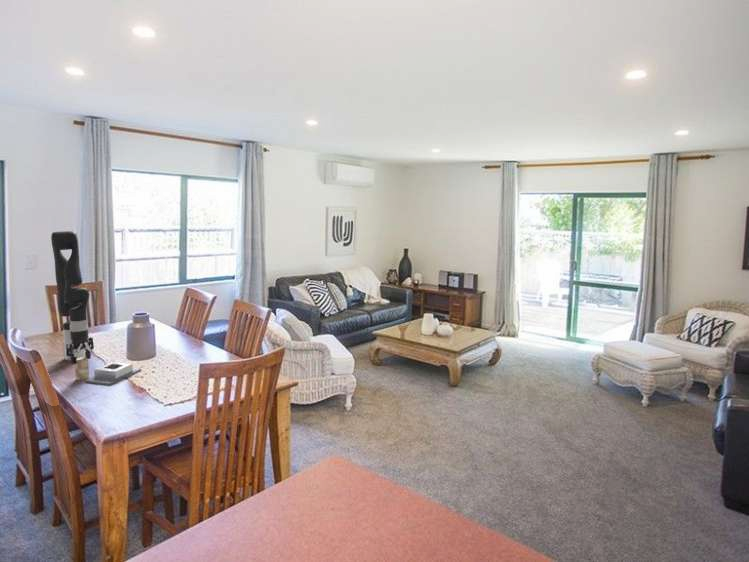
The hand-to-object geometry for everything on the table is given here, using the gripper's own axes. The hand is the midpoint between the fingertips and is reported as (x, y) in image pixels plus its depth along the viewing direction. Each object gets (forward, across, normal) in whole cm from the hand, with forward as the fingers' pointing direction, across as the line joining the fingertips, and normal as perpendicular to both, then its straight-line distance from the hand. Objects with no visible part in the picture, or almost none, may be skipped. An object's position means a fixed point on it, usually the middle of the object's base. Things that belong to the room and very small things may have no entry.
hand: (81, 361), depth 242 cm
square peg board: (+9, -7, +12) cm, 17 cm away
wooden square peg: (+9, 0, 0) cm, 9 cm away
